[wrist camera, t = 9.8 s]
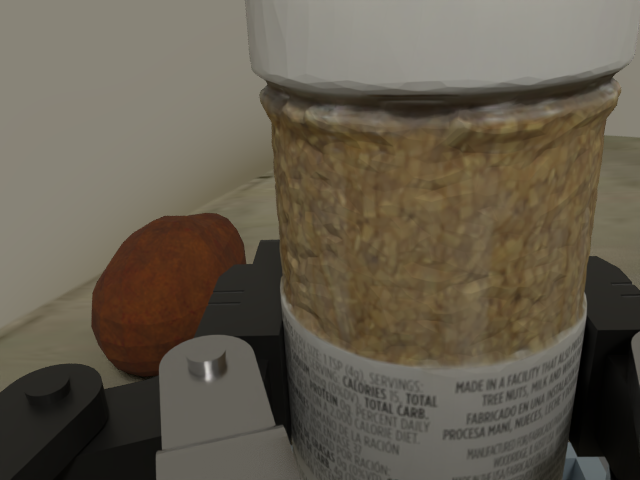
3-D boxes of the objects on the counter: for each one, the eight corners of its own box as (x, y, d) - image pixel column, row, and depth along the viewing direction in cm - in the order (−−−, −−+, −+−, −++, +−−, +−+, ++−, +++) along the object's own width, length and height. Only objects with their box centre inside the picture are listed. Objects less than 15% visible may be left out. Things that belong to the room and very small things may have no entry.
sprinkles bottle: (450, 526, 15) (484, -91, 10) (588, 716, 11) (777, -143, 6) (274, 595, 14) (198, -87, 8) (361, 843, 10) (328, -153, 4)
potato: (295, 317, 32) (286, 200, 29) (179, 432, 24) (152, 289, 21) (188, 291, 35) (171, 184, 32) (56, 386, 27) (19, 256, 24)
